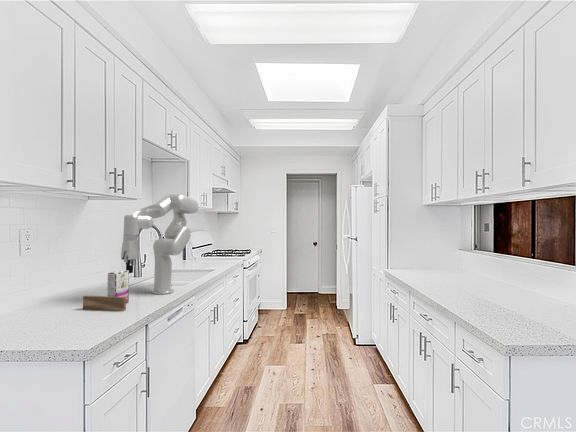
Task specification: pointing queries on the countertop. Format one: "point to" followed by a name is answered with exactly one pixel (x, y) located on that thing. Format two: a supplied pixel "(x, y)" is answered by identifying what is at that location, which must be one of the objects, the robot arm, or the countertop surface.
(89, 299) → the board
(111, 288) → the candy bar box
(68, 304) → the countertop surface
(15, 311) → the countertop surface
